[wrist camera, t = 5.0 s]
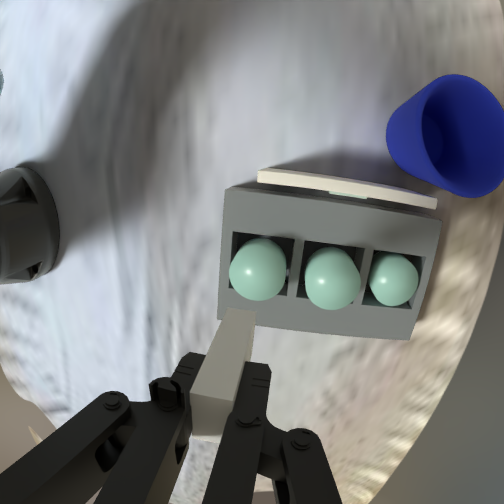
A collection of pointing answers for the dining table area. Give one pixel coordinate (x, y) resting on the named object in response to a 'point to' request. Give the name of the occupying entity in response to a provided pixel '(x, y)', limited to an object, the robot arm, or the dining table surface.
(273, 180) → the pattern card
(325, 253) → the button middle
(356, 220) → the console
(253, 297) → the button left
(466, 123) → the mug
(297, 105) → the dining table surface
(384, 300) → the button right
